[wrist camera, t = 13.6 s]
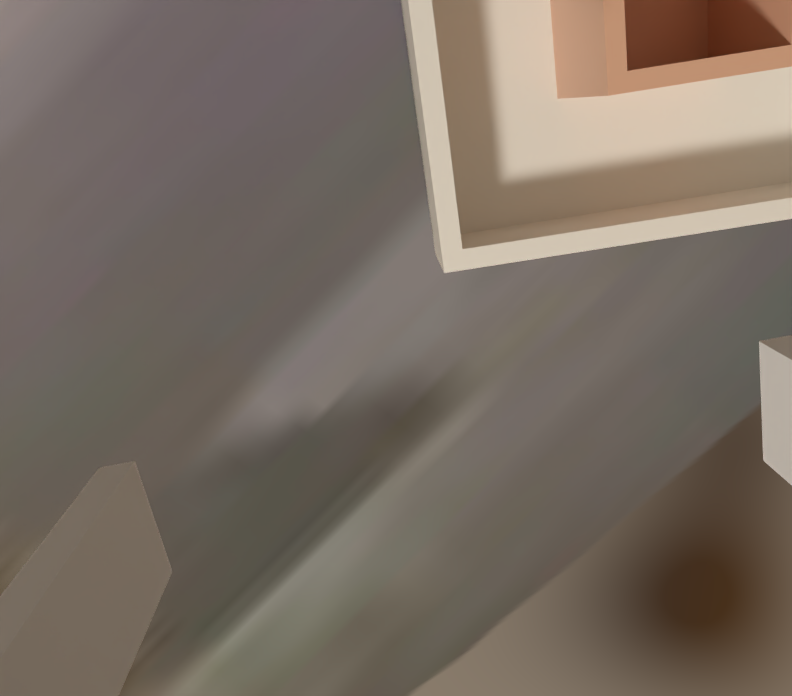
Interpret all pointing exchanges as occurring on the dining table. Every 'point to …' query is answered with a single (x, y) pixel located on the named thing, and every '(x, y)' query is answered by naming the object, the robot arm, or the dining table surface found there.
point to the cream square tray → (579, 143)
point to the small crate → (664, 42)
